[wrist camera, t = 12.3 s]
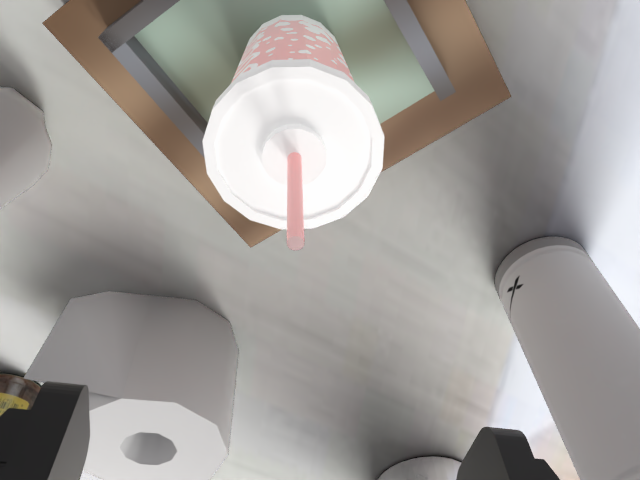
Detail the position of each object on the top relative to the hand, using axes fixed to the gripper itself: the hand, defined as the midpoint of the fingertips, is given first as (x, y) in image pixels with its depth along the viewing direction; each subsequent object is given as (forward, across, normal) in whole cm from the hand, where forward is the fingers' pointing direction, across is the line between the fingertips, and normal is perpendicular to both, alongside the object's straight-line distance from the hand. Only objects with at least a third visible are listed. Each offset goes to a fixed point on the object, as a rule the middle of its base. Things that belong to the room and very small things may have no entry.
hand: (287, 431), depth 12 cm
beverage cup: (+19, 0, -1) cm, 19 cm away
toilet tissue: (+23, +6, +21) cm, 31 cm away
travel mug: (+23, -19, +11) cm, 31 cm away
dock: (+22, 0, -1) cm, 22 cm away
